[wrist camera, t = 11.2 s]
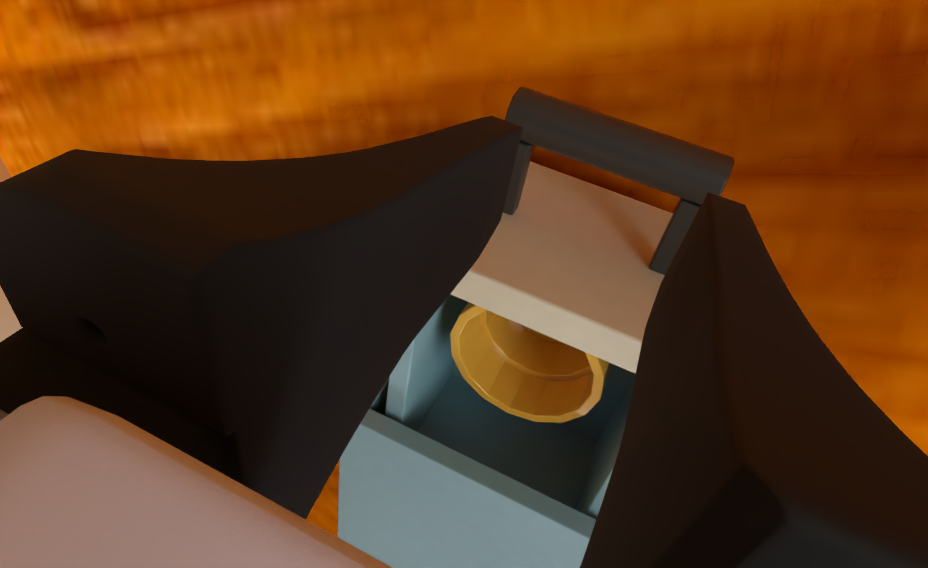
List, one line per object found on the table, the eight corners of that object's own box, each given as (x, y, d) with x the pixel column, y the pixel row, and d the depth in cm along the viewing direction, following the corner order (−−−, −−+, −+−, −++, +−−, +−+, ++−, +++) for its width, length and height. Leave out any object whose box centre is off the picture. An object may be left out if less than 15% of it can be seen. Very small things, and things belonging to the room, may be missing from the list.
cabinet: (440, 282, 28) (339, 413, 22) (678, 384, 26) (639, 563, 19) (413, 440, 37) (336, 563, 31) (586, 525, 35) (540, 679, 28)
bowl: (587, 367, 24) (558, 444, 21) (476, 301, 25) (432, 367, 22) (658, 283, 21) (635, 363, 18) (526, 207, 21) (480, 272, 18)
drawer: (491, 32, 19) (387, 105, 14) (820, 136, 17) (829, 265, 12) (432, 357, 30) (362, 461, 25) (627, 446, 28) (591, 579, 23)
